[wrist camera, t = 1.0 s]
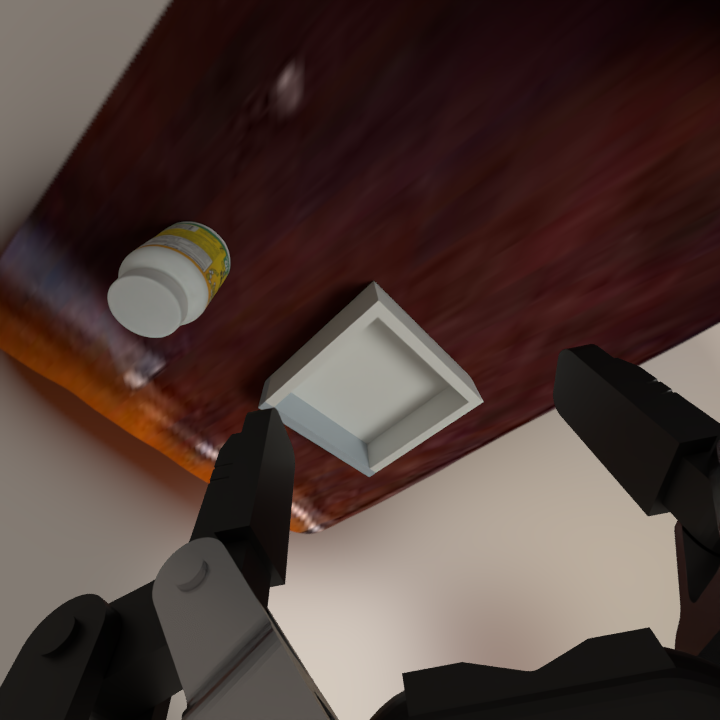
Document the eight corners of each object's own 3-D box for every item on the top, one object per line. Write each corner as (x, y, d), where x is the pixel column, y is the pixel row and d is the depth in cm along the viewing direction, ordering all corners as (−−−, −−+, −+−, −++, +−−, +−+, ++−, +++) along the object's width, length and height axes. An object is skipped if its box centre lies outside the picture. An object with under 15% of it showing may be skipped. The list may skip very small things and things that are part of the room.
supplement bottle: (186, 204, 26) (122, 241, 18) (246, 255, 29) (212, 308, 21) (148, 254, 28) (76, 308, 20) (207, 298, 30) (163, 362, 23)
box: (373, 280, 30) (378, 300, 27) (470, 376, 37) (483, 401, 34) (265, 381, 36) (258, 407, 32) (366, 449, 42) (369, 476, 39)
